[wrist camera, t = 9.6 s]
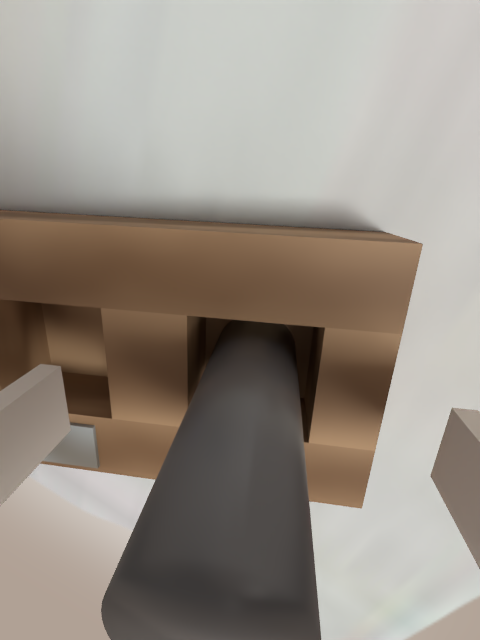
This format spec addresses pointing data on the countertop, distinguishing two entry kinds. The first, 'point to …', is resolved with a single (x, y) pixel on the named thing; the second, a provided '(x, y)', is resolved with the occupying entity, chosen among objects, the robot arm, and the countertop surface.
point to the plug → (226, 509)
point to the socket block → (201, 329)
